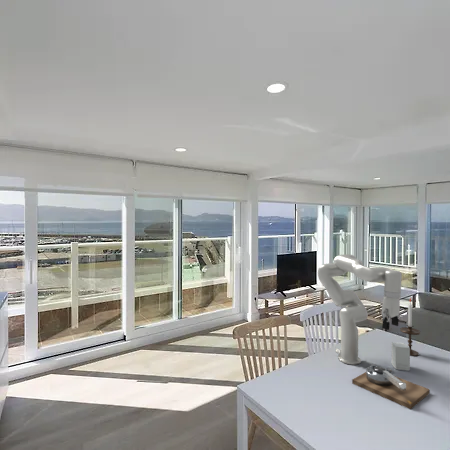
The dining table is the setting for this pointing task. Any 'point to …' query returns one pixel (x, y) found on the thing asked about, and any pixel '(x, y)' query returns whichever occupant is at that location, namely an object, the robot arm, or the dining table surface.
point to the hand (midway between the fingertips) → (390, 327)
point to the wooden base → (395, 391)
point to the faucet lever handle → (383, 377)
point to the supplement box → (400, 356)
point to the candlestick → (410, 330)
